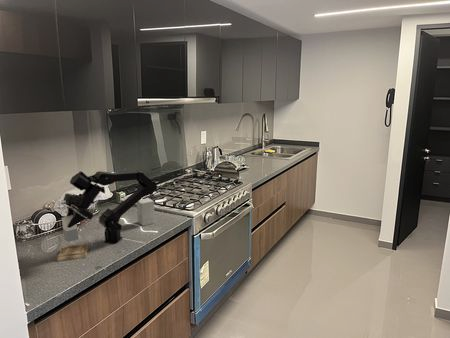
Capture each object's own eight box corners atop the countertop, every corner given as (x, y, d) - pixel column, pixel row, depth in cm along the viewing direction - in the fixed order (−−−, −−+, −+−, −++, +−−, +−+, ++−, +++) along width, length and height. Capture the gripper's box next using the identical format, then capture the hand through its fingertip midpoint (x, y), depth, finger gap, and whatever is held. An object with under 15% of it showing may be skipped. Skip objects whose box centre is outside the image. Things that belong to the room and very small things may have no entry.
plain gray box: (74, 236, 153) (72, 215, 151) (78, 238, 150) (75, 217, 147) (64, 239, 150) (61, 217, 148) (68, 242, 147) (65, 220, 144)
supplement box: (155, 223, 185) (154, 201, 183) (142, 226, 181) (140, 203, 179) (150, 219, 191) (148, 197, 189) (137, 222, 187) (136, 200, 185)
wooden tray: (88, 246, 158) (87, 242, 157) (85, 257, 147) (85, 252, 147) (62, 249, 155) (61, 245, 154) (57, 260, 144) (57, 256, 144)
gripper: (66, 182, 154) (43, 211, 149) (82, 190, 141) (58, 222, 136) (86, 195, 161) (64, 223, 156) (102, 204, 148) (80, 235, 143)
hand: (66, 225), depth 147 cm, fingers closed on plain gray box, 4 cm apart
